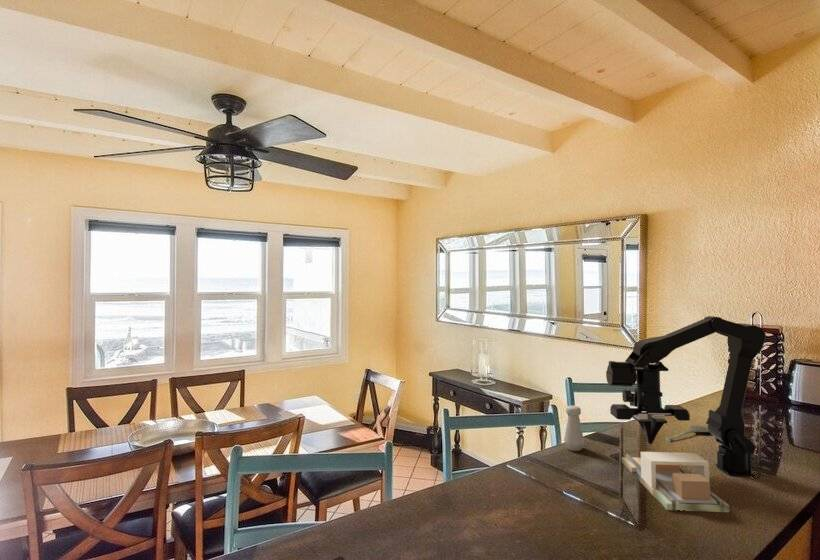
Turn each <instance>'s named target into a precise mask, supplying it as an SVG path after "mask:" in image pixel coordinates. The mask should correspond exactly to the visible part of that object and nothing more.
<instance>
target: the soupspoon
mask: <svg viewBox="0 0 820 560" xmlns="http://www.w3.org/2000/svg"><path fill="white" fill-rule="evenodd" d="M689 429H690V430H687V431H684V432H681V433H679V434H677V435H672V436H670V437H665V439H664V440H665V441H666V440H667V441H666V442H668V441H670V442H669V443H671V442H672V441H673V440H674V439H676V438H679V437H682V436H685V435H687V434H692V433H710V432H709V430H708V426H707V427H706V426H704V425H701V424H694V425H691V426H689Z"/></svg>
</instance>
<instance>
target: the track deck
mask: <svg viewBox="0 0 820 560" xmlns="http://www.w3.org/2000/svg"><path fill="white" fill-rule="evenodd" d="M621 463H622V465H624V466H625V468H627V470H628V471H629V472H630V473H631V474H632V475H633V476H634V477H635V478H636V479H637V480H638V482H640V484H642V485H643V487H644V488H645V489H646V490H647V491H648V492H649V493H650V494H651V495H652V496H653V497H654V499H656V500H657V501H658V502H659V504H660V505H661V506H663V508H664V509H665V510H666V511H677V510H680V511H681V512H685V511H686V512H709V513H710V512H712V513H730V505H729V503H727V502H726V501H725V500H723V499H722V498H720V497H719V496H718V495H717V494H715V493H714V492H713V491H712V490H711V489H710V496H711V497H712V498H713V499H715V500H716V501H717V504H706V503H678V502H677V501H676V500H675V499H674V498H673V497H672V496H671V495H670V494H669V493H668V492H667V491H666V490H665V489H664V488H663V487H662V486H661V485H660V484H659V483H658V482H657V481H656V488H651V487H650V486H649V485H648V484H647V483H646V482H645V480H644V479H643V478H642V477H641V457H632V456H631V455H630V454H625V456H624V457H623V456H622V457H621ZM680 471H681V472H682V473H683V474H690V473H689V472H687V471H686V470H685V469H684V468H683V467H682V465H680ZM683 510H685V511H683Z"/></svg>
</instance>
